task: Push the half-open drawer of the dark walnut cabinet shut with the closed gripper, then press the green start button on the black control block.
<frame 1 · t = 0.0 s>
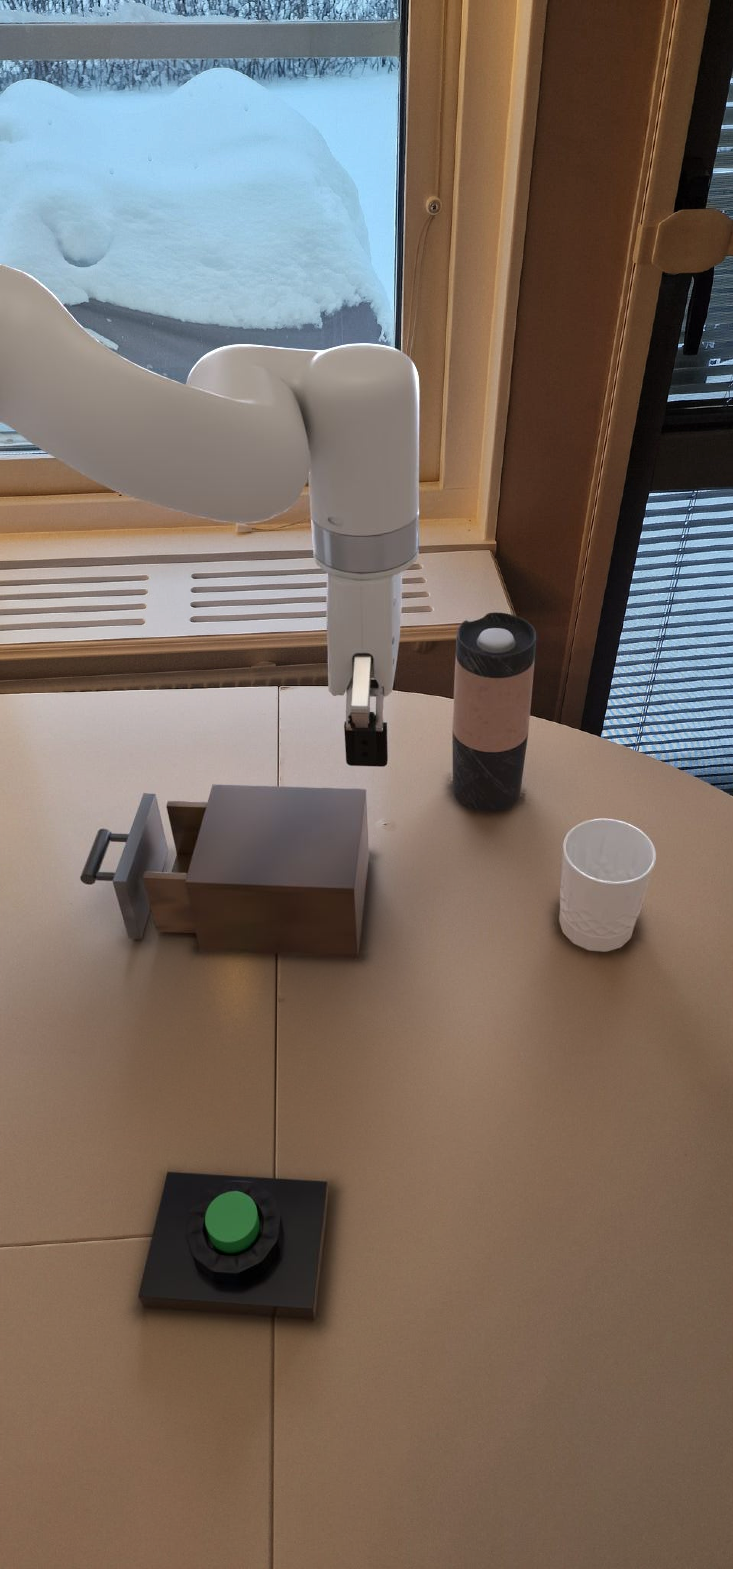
hand: (371, 724, 84), 22 cm above the table, tool pointing down, fingers open, 9 cm apart
start button: (232, 1221, 72), point 4 cm above the table, slide at 0.1 cm
white cup: (595, 926, 96), on the table
control block: (239, 1250, 75), on the table
drawer: (184, 866, 97), point 5 cm above the table, slide at 5.5 cm
cabinet: (288, 904, 99), on the table
travel mug: (486, 792, 110), on the table
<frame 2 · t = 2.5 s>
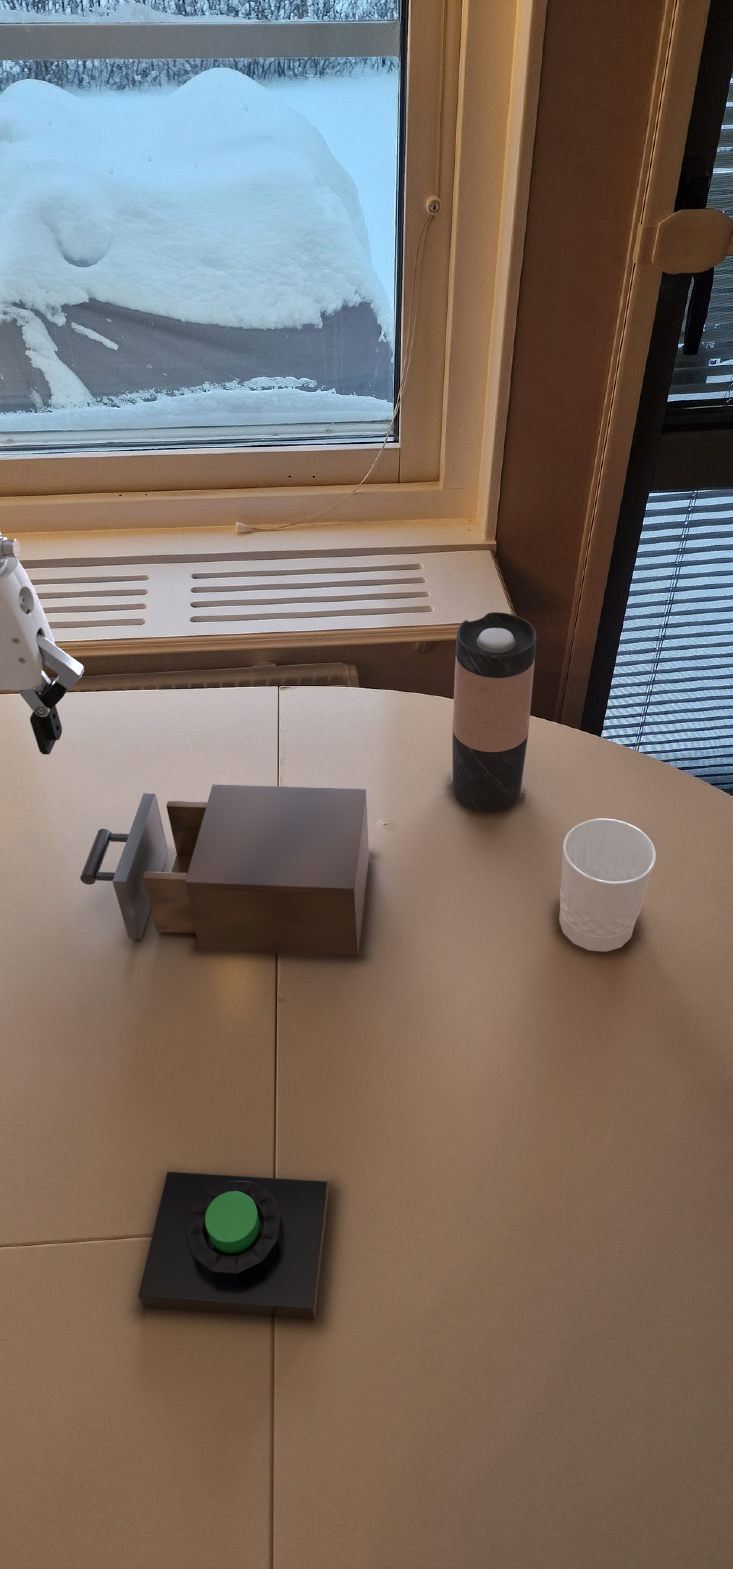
hand: (12, 741, 88), 20 cm above the table, tool pointing down, fingers open, 5 cm apart
nothing on the table moved.
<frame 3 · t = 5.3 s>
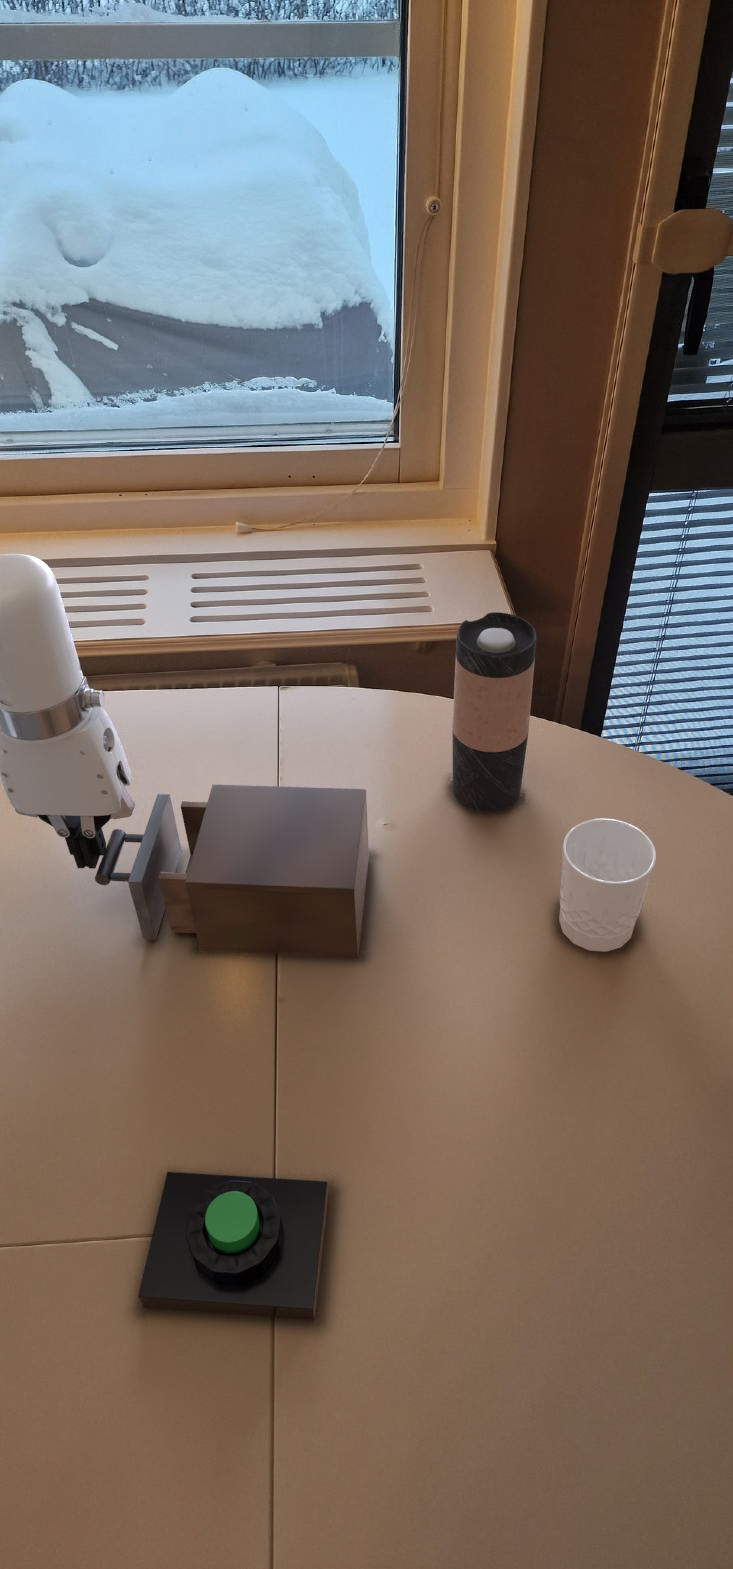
hand: (91, 857, 97), 5 cm above the table, tool pointing down, fingers closed
drawer: (198, 866, 97), point 5 cm above the table, slide at 4.1 cm, touching gripper
everything else where it was.
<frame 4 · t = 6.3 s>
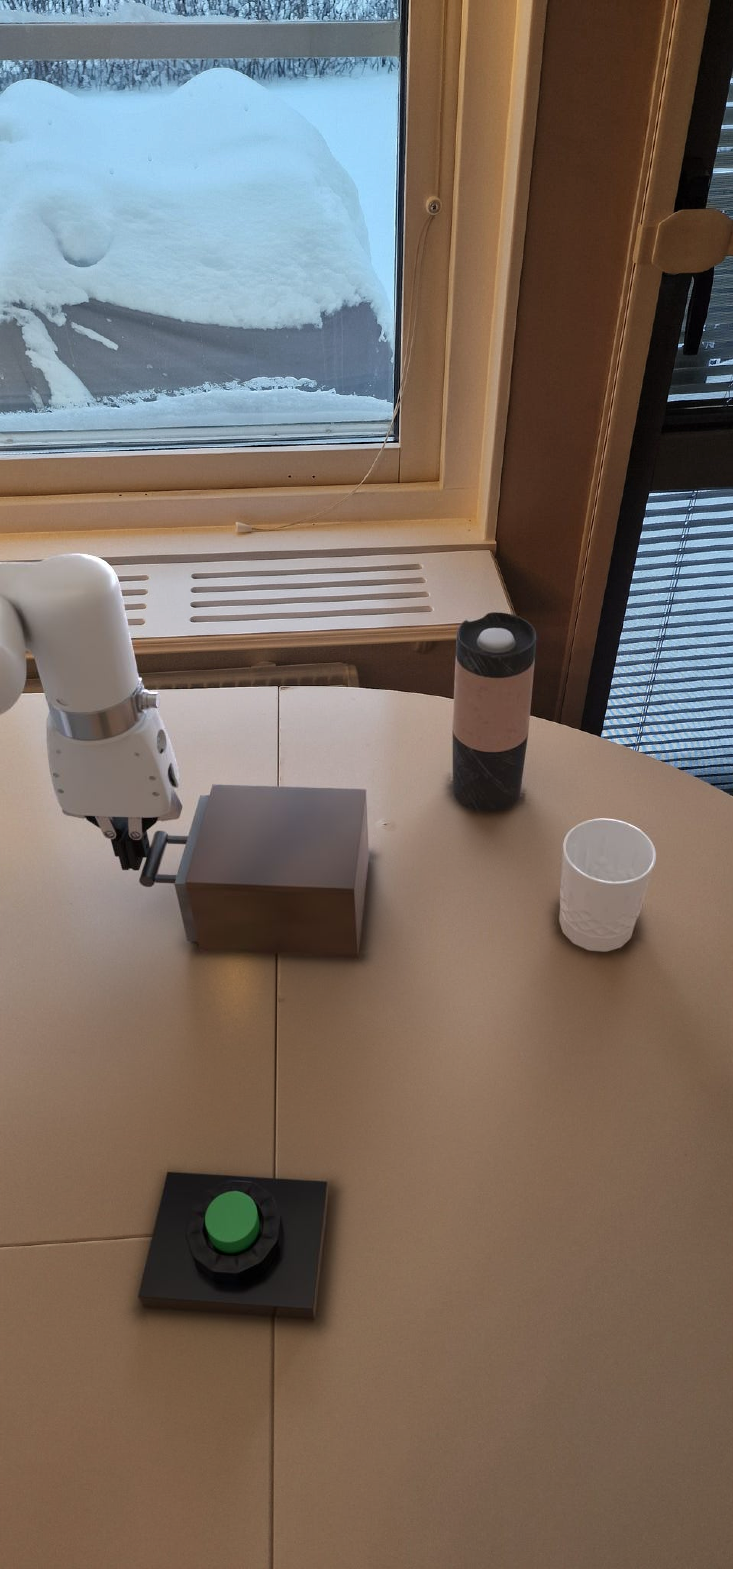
hand: (134, 859, 97), 5 cm above the table, tool pointing down, fingers closed
drawer: (242, 868, 96), point 5 cm above the table, slide at 0.0 cm, touching cabinet, gripper
everything else where it was.
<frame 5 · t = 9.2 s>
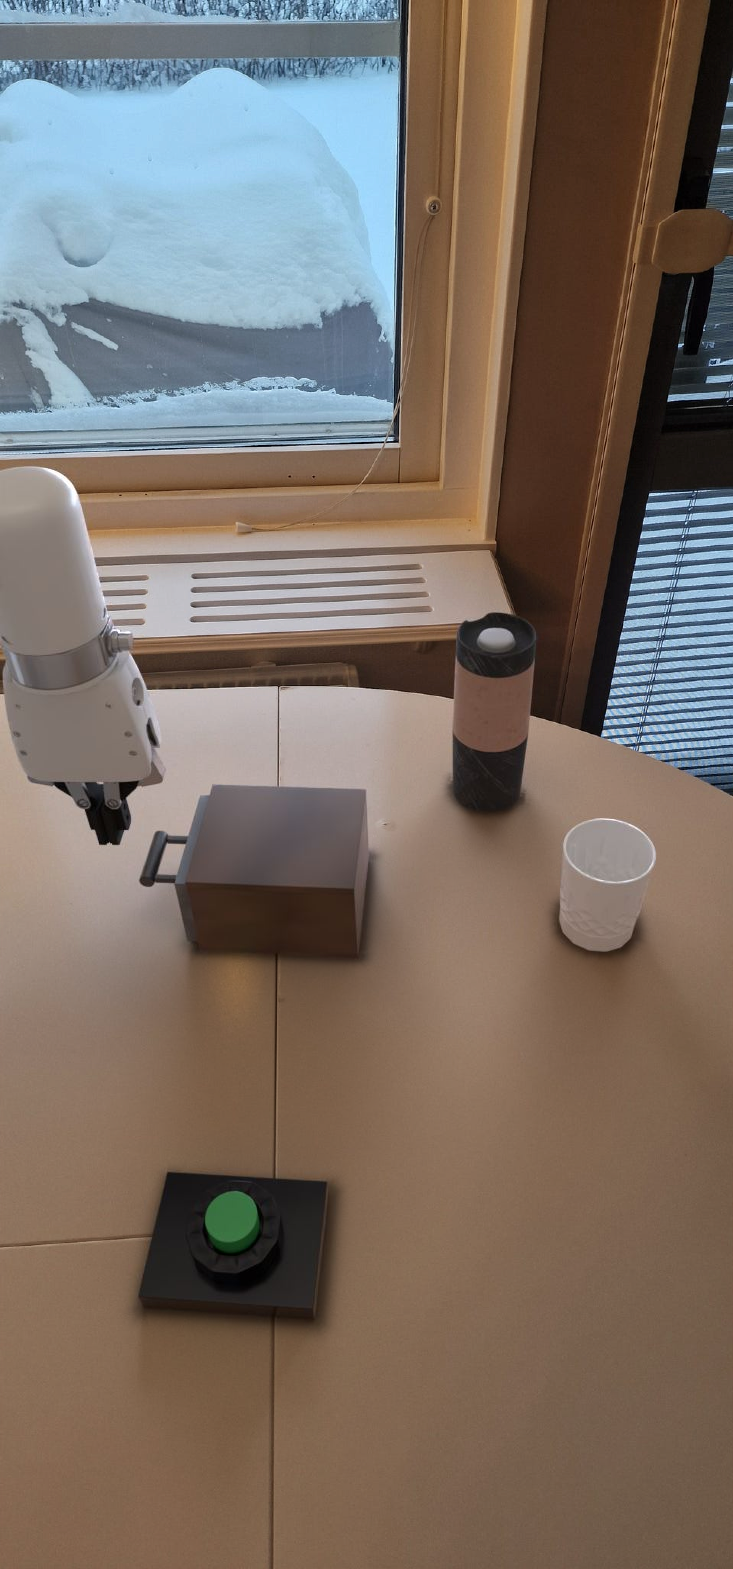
hand: (113, 832, 85), 16 cm above the table, tool pointing down, fingers closed
drawer: (242, 868, 96), point 5 cm above the table, slide at 0.0 cm, touching cabinet
everything else where it was.
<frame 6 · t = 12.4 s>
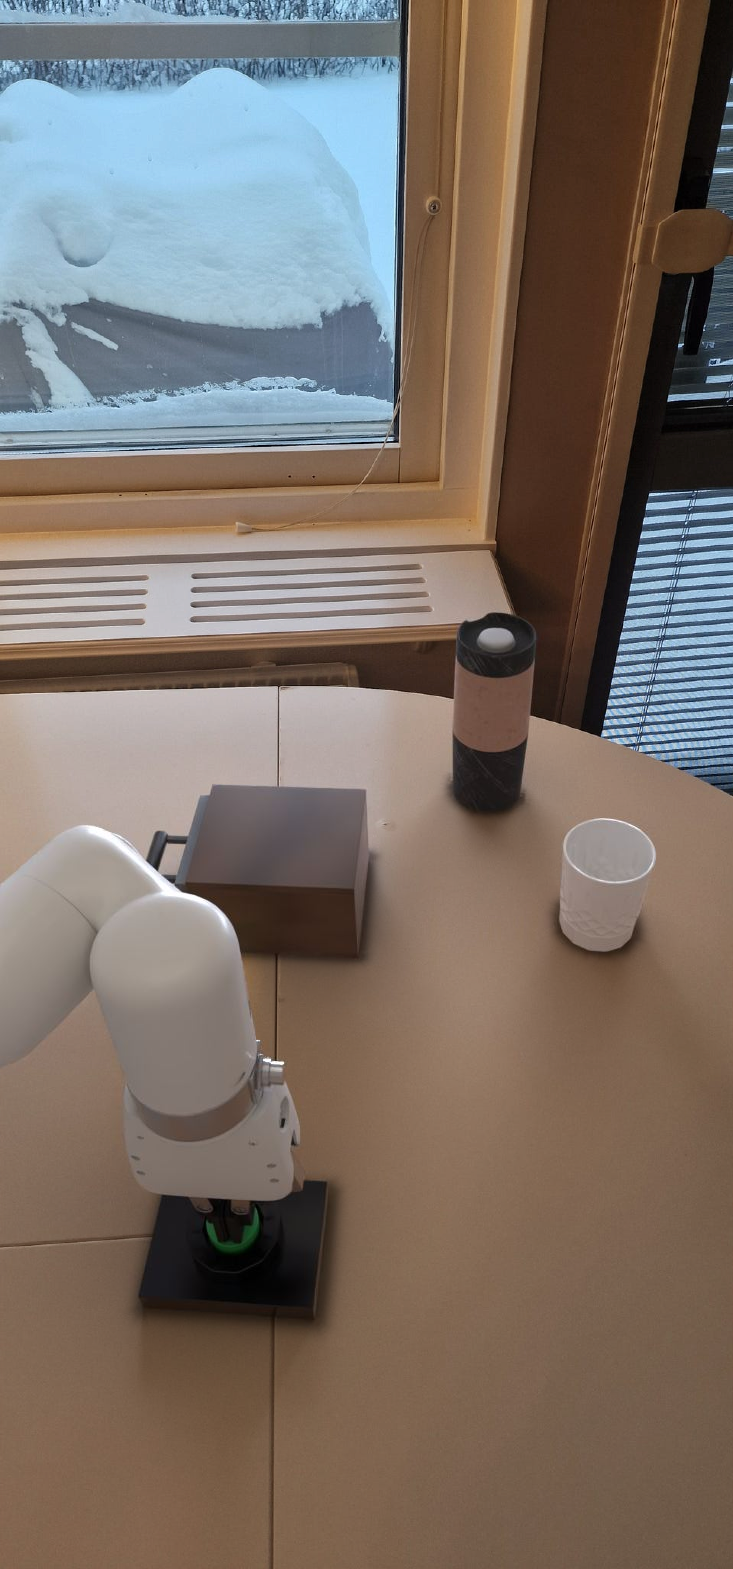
hand: (234, 1221, 71), 5 cm above the table, tool pointing down, fingers closed
start button: (233, 1226, 72), point 4 cm above the table, slide at -0.6 cm, touching gripper
everything else where it was.
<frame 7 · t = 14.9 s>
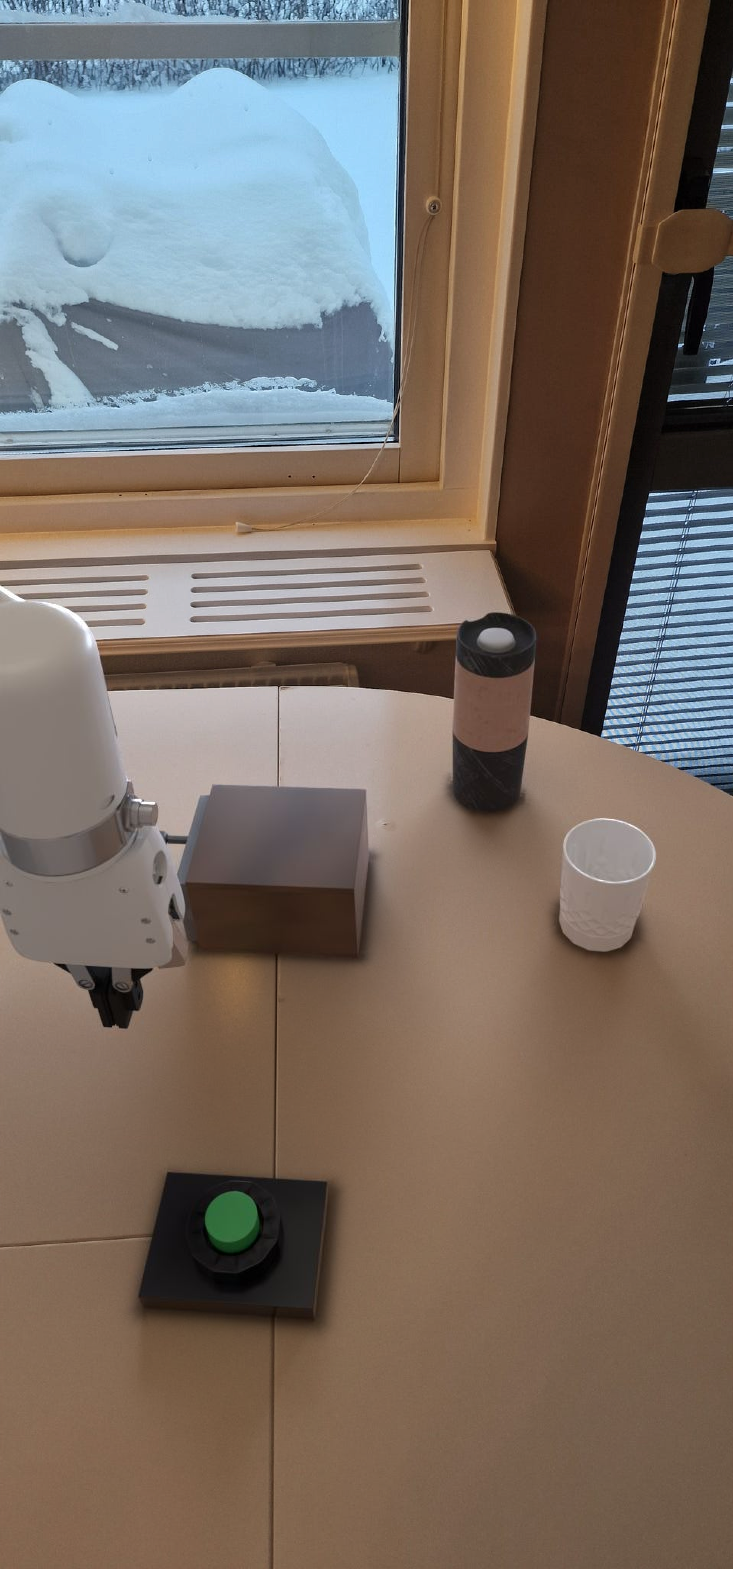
hand: (121, 1009, 70), 17 cm above the table, tool pointing down, fingers closed
start button: (232, 1221, 72), point 4 cm above the table, slide at 0.1 cm
everything else where it was.
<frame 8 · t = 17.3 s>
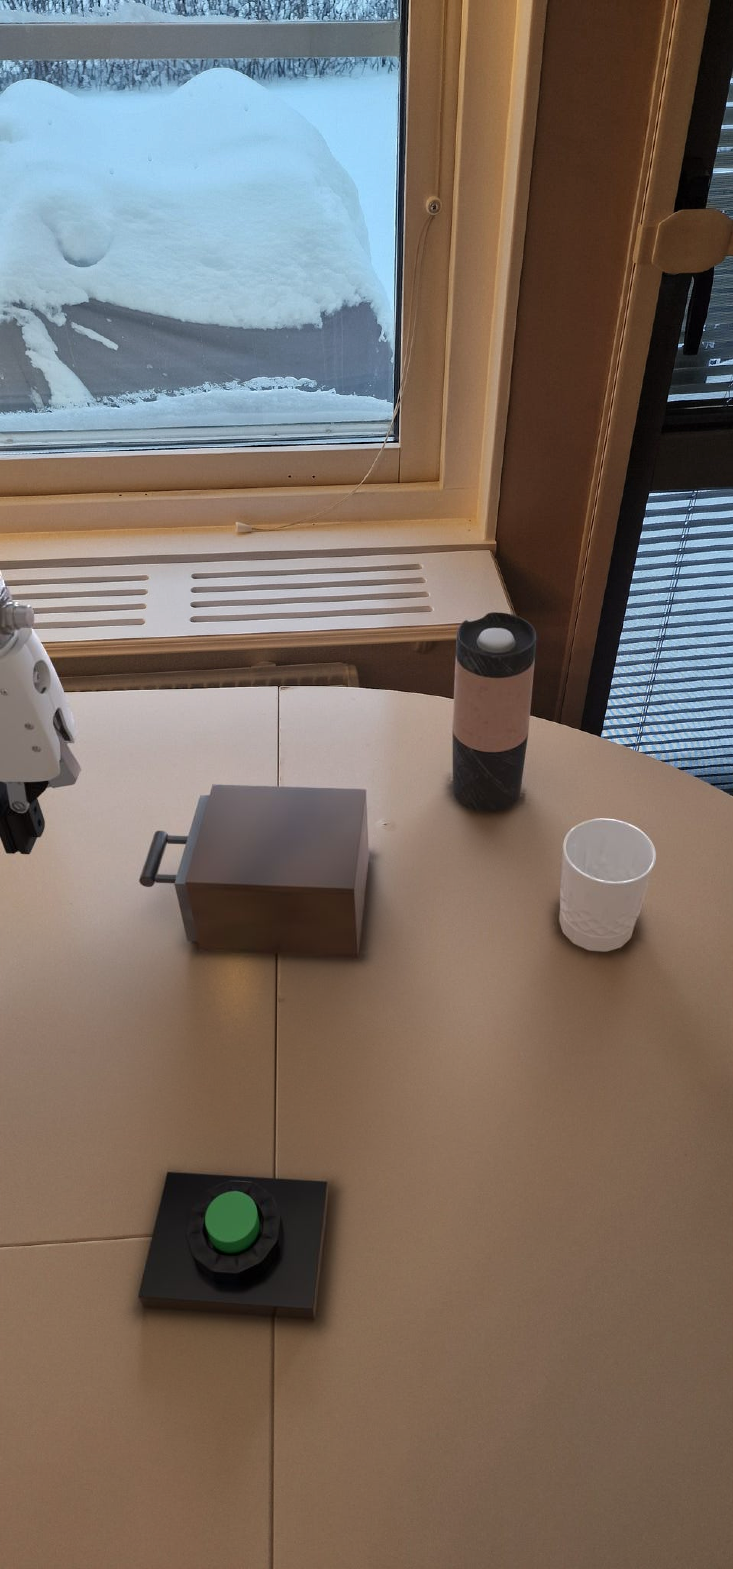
hand: (25, 839, 74), 23 cm above the table, tool pointing down, fingers closed
nothing on the table moved.
at the end: drawer slide at 0.0 cm; start button pushed in 1.1 cm at the most during the clip, back to where it started at the end; start button slide at 0.1 cm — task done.
